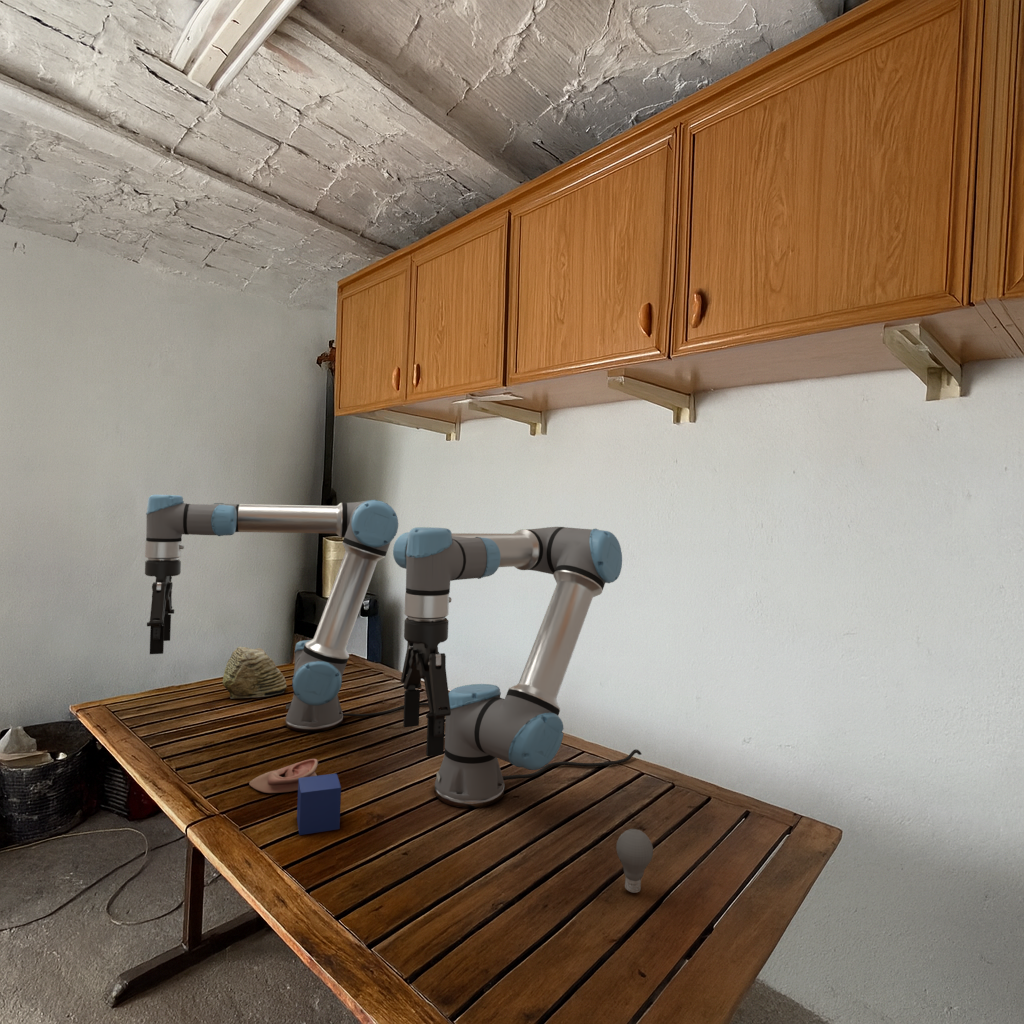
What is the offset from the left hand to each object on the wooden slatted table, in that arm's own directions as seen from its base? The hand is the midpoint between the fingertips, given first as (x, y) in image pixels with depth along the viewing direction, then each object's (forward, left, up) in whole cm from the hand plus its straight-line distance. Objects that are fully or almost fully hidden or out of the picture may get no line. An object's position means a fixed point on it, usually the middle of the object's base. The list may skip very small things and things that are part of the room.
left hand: (160, 647), depth 152 cm
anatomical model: (-12, +36, -25) cm, 46 cm away
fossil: (-39, -24, -25) cm, 52 cm away
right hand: (-10, +81, -3) cm, 82 cm away
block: (-7, +56, -25) cm, 62 cm away
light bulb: (-29, +112, -25) cm, 119 cm away
